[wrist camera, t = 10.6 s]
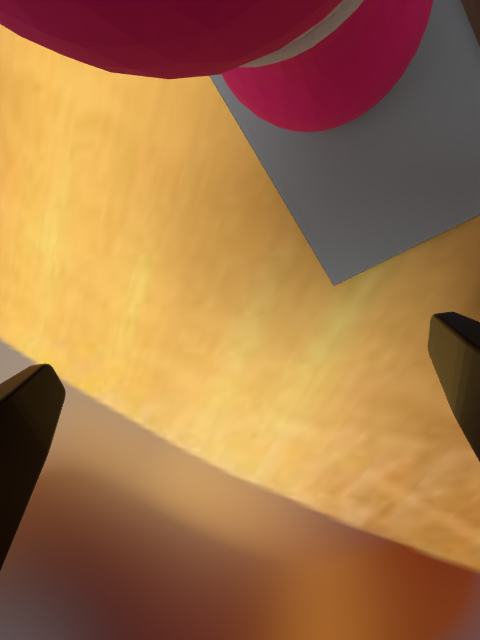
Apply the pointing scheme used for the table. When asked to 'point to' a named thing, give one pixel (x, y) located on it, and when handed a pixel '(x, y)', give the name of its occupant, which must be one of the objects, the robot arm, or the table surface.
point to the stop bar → (473, 15)
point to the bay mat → (384, 156)
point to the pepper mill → (243, 47)
